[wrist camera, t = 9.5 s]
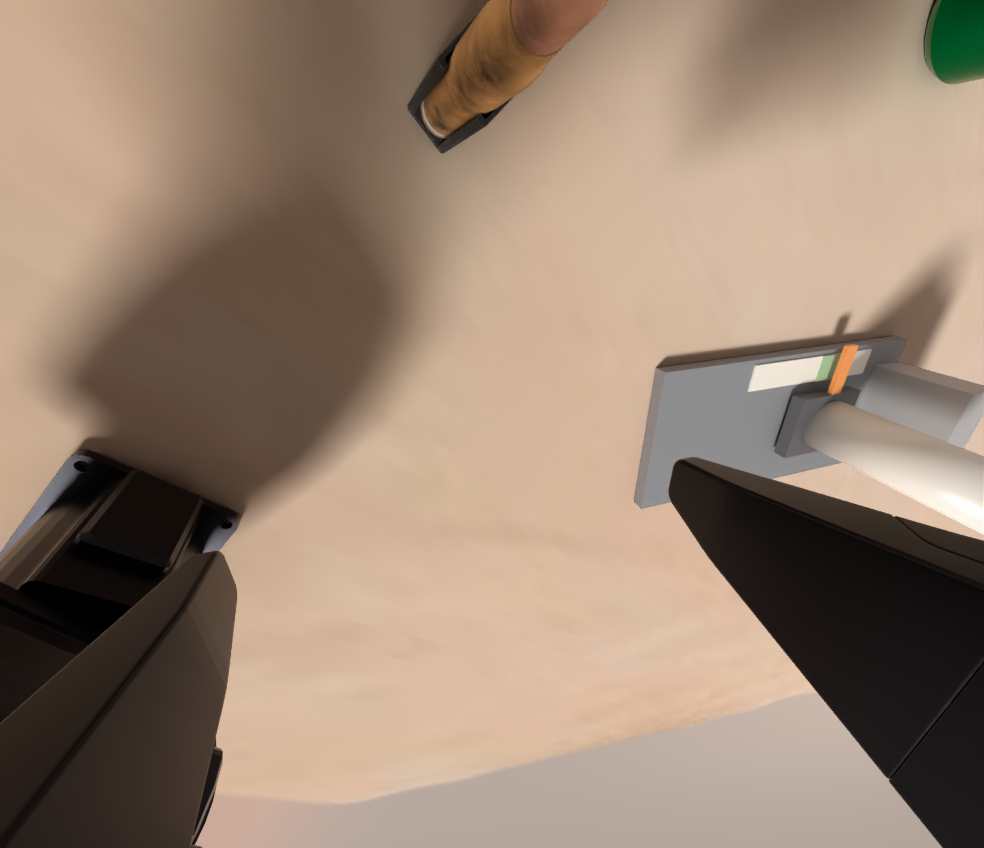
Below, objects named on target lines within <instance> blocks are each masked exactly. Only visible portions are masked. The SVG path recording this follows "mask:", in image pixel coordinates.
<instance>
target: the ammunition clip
mask: <svg viewBox="0 0 984 848" xmlns="http://www.w3.org/2000/svg"><path fill="white" fill-rule="evenodd" d="M607 1H608V0H489V1H488V2H487V4H486V5H485V6H484V7H483V8H482V9H481V11H480V12H479V13H478V14H477V15H476V17H475V18H474V19H473V20H472V21H471V22H470V23H469V24H468V25H467V26H466V27H465V29H464V30H463V31H462V32H461V33H460V34H459V35H458V36H457V37H456V38H455V39H454V41H453V42H452V43H451V44H450V45H449V46H448V47H447V48H446V49H445V50H444V52H443V53H442V54H441V55H440V56H439V57H438V59H437V60H436V62H435V63H434V65H433V67H432V68H431V70H430V71H429V73H428V74H427V76H426V77H425V79H424V81H423V82H422V84H421V85H420V87H419V88H418V90H417V91H416V93H415V95H414V96H413V98H412V99H411V101H410V102H409V104H408V110H409V112H410V113H411V114H412V116H413V117H414V118H415V120H416V121H417V122H418V124H419V125H420V126H421V128H422V129H423V130H424V132H425V133H426V134H427V136H428V137H429V138H430V139H431V141H432V142H433V143H434V145H435V146H436V147H437V149H438V150H439V151H440V153H445V152H446V151H448V150H450V149H451V148H453V147H454V146H456V145H457V144H459V143H460V142H462V141H464V140H465V139H467V138H468V137H470V136H471V135H473V134H474V133H476V132H478V131H479V130H481V129H482V128H484V127H485V126H486V125H487V124H488V123H489V122H490V121H491V120H492V119H493V118H494V117H495V116H496V115H497V114H498V113H499V112H500V111H501V110H502V109H503V108H504V106H505V105H506V104H507V103H508V102H509V101H510V100H511V99H512V98H513V97H514V96H515V95H517V94H518V93H519V92H521V91H522V90H524V89H525V88H527V87H528V86H529V85H530V84H531V83H532V82H533V81H534V80H535V79H536V78H537V77H538V76H539V75H540V74H541V72H542V71H543V69H544V68H545V66H546V64H547V62H548V61H549V60H550V59H551V58H552V57H553V56H554V55H555V54H556V53H557V52H558V51H559V50H560V49H561V48H562V47H563V46H564V45H565V44H566V43H567V42H568V41H570V40H571V39H572V38H573V37H574V36H575V35H576V34H577V33H578V32H579V31H580V30H581V29H582V28H583V27H584V26H586V25H587V24H588V23H589V22H590V21H591V20H592V19H593V18H594V17H595V16H596V15H597V14H598V13H599V12H600V11H601V10H602V8H603V7H604V6H605V4H606V3H607Z"/></svg>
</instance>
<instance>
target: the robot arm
mask: <svg viewBox="0 0 984 848" xmlns="http://www.w3.org/2000/svg"><path fill="white" fill-rule="evenodd" d="M79 461H85V462H87V463H89V464H90V466H91V467H87V466H83V465H82V464H81V463H80V462H79ZM668 494H669V498H670V500H671V502H672V504H673V505H674V507H675V508H676V510H677V511H678V513H679V514H680V516H681V517H682V519H683V520H684V522H685V523H686V525H687V526H688V528H689V529H690V531H691V532H692V534H693V535H694V537H695V538H696V540H697V541H698V543H699V544H700V546H701V547H702V549H703V550H704V552H705V553H706V554H707V556H708V557H709V559H710V560H711V561H712V563H713V564H714V565H715V566H716V568H717V569H718V570H719V571H720V573H721V574H722V575H723V576H724V578H725V579H726V580H727V581H728V583H729V584H730V585H731V586H732V587H733V589H734V590H735V591H736V592H737V594H738V595H739V596H740V597H741V599H742V600H743V601H744V602H745V604H746V605H747V606H748V607H749V608H750V610H751V611H752V612H753V613H754V615H755V616H756V617H757V618H758V620H759V621H760V622H761V623H762V625H763V626H764V627H765V628H766V629H767V631H768V632H769V633H770V634H771V636H772V637H773V638H774V639H775V641H776V642H777V643H778V644H779V646H780V647H781V648H782V649H783V651H784V652H785V653H786V654H787V655H788V657H789V658H790V659H791V660H792V662H793V663H794V664H795V665H796V667H797V668H798V669H799V670H800V672H801V673H802V674H803V675H804V676H805V678H806V679H807V680H808V681H809V683H810V684H811V685H812V686H813V688H814V689H815V690H816V691H817V693H818V694H819V695H820V696H821V697H822V699H823V700H824V701H825V702H826V704H827V705H828V706H829V707H830V709H831V710H832V711H833V712H834V714H835V715H836V716H837V717H838V719H839V720H840V721H841V722H842V723H843V725H844V726H845V727H846V728H847V730H848V731H849V732H850V733H851V735H852V736H853V737H854V738H855V740H856V741H857V742H858V743H859V744H860V746H861V747H862V748H863V749H864V751H865V752H866V753H867V754H868V756H869V757H870V758H871V759H872V760H873V762H874V763H875V764H876V766H877V767H878V768H879V769H880V770H881V772H882V773H883V774H884V775H885V776H886V778H889V782H890V783H891V785H892V786H893V787H894V788H895V790H896V791H897V792H898V793H899V795H900V796H901V797H902V798H903V800H904V801H905V802H906V803H907V804H908V806H909V807H910V808H911V809H912V811H913V812H914V813H915V814H916V816H917V817H918V818H919V819H920V821H921V822H922V823H923V824H924V825H925V826H926V828H927V829H928V830H929V832H930V833H931V834H932V835H933V837H934V838H935V839H936V840H937V842H938V843H939V844H940V845H941V846H942V848H984V541H983V540H979V539H975V538H971V537H968V536H964V535H960V534H957V533H953V532H950V531H946V530H943V529H939V528H936V527H932V526H929V525H925V524H922V523H918V522H915V521H911V520H908V519H905V518H901V517H898V516H895V517H893V516H892V515H890V514H887V513H884V512H881V511H877V510H874V509H870V508H867V507H864V506H860V505H857V504H854V503H850V502H847V501H843V500H840V499H837V498H833V497H830V496H826V495H823V494H820V493H816V492H813V491H809V490H806V489H803V488H799V487H796V486H793V485H789V484H786V483H782V482H779V481H776V480H772V479H769V478H765V477H762V476H759V475H755V474H752V473H748V472H745V471H742V470H738V469H735V468H732V467H728V466H725V465H721V464H718V463H715V462H711V461H708V460H704V459H701V458H698V457H688V458H683V459H679V460H677V461H676V462H675V463H674V465H673V470H672V474H671V479H670V484H669V488H668ZM222 520H229V521H231V522H232V523H228V524H227V523H224V522H223V521H222ZM239 523H240V516H239V514H238V513H236V512H235V511H232V510H230V509H228V508H225V507H223V506H221V505H218V504H216V503H214V502H211V501H209V500H206V499H204V498H202V497H200V496H199V495H196V494H194V493H192V492H189V491H187V490H184V489H182V488H180V487H177V486H175V485H173V484H170V483H168V482H166V481H163V480H161V479H159V478H156V477H154V476H152V475H149V474H147V473H144V472H142V471H138V470H136V469H133V468H131V467H129V466H126V465H124V464H122V463H119V462H117V461H115V460H112V459H110V458H107V457H105V456H103V455H100V454H98V453H96V452H93V451H89V450H81V451H77V452H75V453H74V454H73V455H72V456H71V457H70V458H69V459H67V460H66V462H65V463H64V465H63V466H62V467H61V469H60V470H59V472H58V473H57V474H56V476H55V477H54V479H53V480H52V481H51V483H50V484H49V485H48V487H47V488H46V490H45V491H44V492H43V494H42V495H41V497H40V498H39V499H38V501H37V502H36V504H35V505H34V506H33V508H32V509H31V510H30V512H29V513H28V515H27V516H26V517H25V519H24V520H23V522H22V523H21V524H20V526H19V527H18V529H17V530H16V531H15V533H14V534H13V536H12V537H11V538H10V540H9V541H8V542H7V544H6V545H5V547H4V548H3V549H2V551H1V552H0V848H202V847H200V846H197V845H195V843H196V841H197V839H198V837H199V835H200V833H201V830H202V828H203V826H204V824H205V822H206V819H207V816H208V813H209V811H210V808H211V805H212V802H213V798H214V794H215V789H216V785H217V781H218V777H219V774H220V770H221V766H222V756H223V751H222V750H221V749H220V748H217V747H216V734H217V729H218V725H219V721H220V716H221V712H222V708H223V703H224V698H225V694H226V689H227V682H228V674H229V666H230V657H231V648H232V639H233V631H234V622H235V613H236V604H237V588H236V584H235V582H234V579H233V577H232V574H231V572H230V569H229V567H228V564H227V562H226V560H225V557H224V555H223V554H222V553H221V552H219V550H220V549H221V548H222V546H223V545H224V544H225V543H226V542H227V540H228V539H229V538H230V537H231V535H232V534H233V533H234V532H235V531H236V529H237V528H238V526H239Z"/></svg>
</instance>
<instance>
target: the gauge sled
mask: <svg viewBox="0 0 984 848" xmlns="http://www.w3.org/2000/svg"><path fill="white" fill-rule="evenodd" d="M858 346H859V345H855V344H850V345H844V348H843V351H842V353H841V356H840V359H839V361H838V364H837V367H836V370H835V372H834V375H833V378H832V380H831V383H830V386H829V389H826V390H820V391H815V392H809V393H803V394H797V395H793V396H792V399H791V402H790V405H789V408H788V411H787V414H786V417H785V420H784V423H783V426H782V429H781V432H780V435H779V438H778V441H777V444H776V447H775V450H774V452H775V453H776V454H778V455H780V456H782V457H783V458H788V457H793V456H798V455H802V454H807V453H811V452H816V451H820V452H822V453H824V454H826V455H828V456H830V457H832V458H834V459H836V460H838V461H840V462H842V463H844V464H846V465H848V466H850V467H852V468H854V469H856V470H858V471H860V472H861V473H863V474H865V475H867V476H869V477H871V478H873V479H875V480H877V481H879V482H881V483H883V484H885V485H887V486H889V487H891V488H893V489H895V490H897V491H899V492H901V493H903V494H905V495H907V496H909V497H910V498H912V499H914V500H916V501H918V502H920V503H922V504H924V505H926V506H928V507H930V508H932V509H934V510H936V511H938V512H940V513H942V514H944V515H946V516H948V517H950V518H952V519H954V520H956V521H958V522H959V523H961V524H963V525H965V526H967V527H969V528H971V529H973V530H975V531H977V532H979V533H981V534H983V535H984V456H981V455H979V454H976V453H974V452H971V451H968V450H966V449H963V448H961V447H958V446H956V445H953V444H950V443H948V442H945V441H943V440H940V439H937V438H935V437H932V436H930V435H927V434H925V433H922V432H919V431H917V430H914V429H912V428H909V427H906V426H904V425H901V424H899V423H896V422H894V421H891V420H888V419H886V418H883V417H881V416H878V415H876V414H873V413H870V412H868V411H865V410H863V409H860V408H857V407H855V404H856V402H857V399H858V397H859V394H860V392H861V390H859V389H856V388H853V387H850V386H844V387H843V385H844V383H845V380H846V377H847V375H848V372H849V370H850V367H851V364H852V362H853V359H854V357H855V354H856V351H857V349H858Z"/></svg>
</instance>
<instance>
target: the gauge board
mask: <svg viewBox="0 0 984 848" xmlns="http://www.w3.org/2000/svg"><path fill="white" fill-rule="evenodd" d="M906 340H907V339H904V338H900V337H895V336H889V337H881V338H874V339H867V340H859V341H852V342H844V343H837V344H830V345H822V346H815V347H807V348H800V349H793V350H785V351H778V352H770V353H763V354H756V355H748V356H741V357H733V358H726V359H719V360H711V361H704V362H696V363H689V364H681V365H674V366H667V367H659V368H656V371H655V377H654V383H653V389H652V395H651V401H650V407H649V413H648V419H647V425H646V432H645V438H644V444H643V450H642V456H641V462H640V468H639V474H638V480H637V486H636V492H635V498H634V502H635V503H636V504H637V505H638V506H639V507H640V508H641V509H643V508H647V507H652V506H656V505H660V504H665V503H669V502H671V500H670V498H669V494H668V488H669V484H670V479H671V474H672V470H673V465H674V463H675V462H676V461H677V460H679V459H683V458H688V457H698V458H701V459H704V460H708V461H711V462H715V463H718V464H721V465H725V466H728V467H732V468H735V469H738V470H742V471H745V472H748V473H752V474H755V475H759V476H762V477H765V478H769V479H773V478H777V477H782V476H786V475H790V474H795V473H799V472H803V471H808V470H812V469H816V468H821V467H825V466H829V465H834V464H838V463H842V462H840V461H838V460H836V459H834V458H832V457H830V456H828V455H826V454H824V453H822V452H820V451H816V452H811V453H807V454H802V455H798V456H793V457H788V458H783V457H782V456H780V455H778V454H776V453H775V452H774V450H775V447H776V444H777V441H778V438H779V435H780V432H781V429H782V426H783V423H784V420H785V417H786V414H787V411H788V408H789V405H790V402H791V399H792V396H793V395H797V394H803V393H809V392H815V391H820V390H826V389H829V386H830V383H831V380H832V378H833V375H834V372H835V370H836V367H837V364H838V361H839V359H840V356H841V353H842V351H843V348H844V345H850V344H855V345H859V346H858V349H857V351H856V354H855V357H854V359H853V362H852V364H851V367H850V370H849V372H848V375H847V377H846V380H845V383H844V385H843V387H844V386H850V387H853V388H856V389H859V390H861V392H860V394H859V397H858V399H857V402H856V404H855V407H857V408H860V409H863V410H865V411H868V412H870V413H873V414H876V415H878V416H881V417H883V418H886V419H888V420H891V421H894V422H896V423H899V424H901V425H904V426H906V427H909V428H912V429H914V430H917V431H919V432H922V433H925V434H927V435H930V436H932V437H935V438H937V439H940V440H943V441H945V442H948V443H950V444H953V445H956V446H958V447H961V448H963V449H964V448H965V446H966V444H967V442H968V441H969V439H970V437H971V435H972V433H973V432H974V430H975V428H976V426H977V425H978V423H979V421H980V419H981V418H982V416H983V414H984V386H983V385H979V384H976V383H972V382H969V381H965V380H961V379H958V378H954V377H951V376H947V375H943V374H940V373H936V372H932V371H929V370H925V369H922V368H918V367H914V366H911V365H907V364H903V363H900V362H897V361H898V358H899V356H900V354H901V351H902V349H903V347H904V345H905V342H906Z"/></svg>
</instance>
